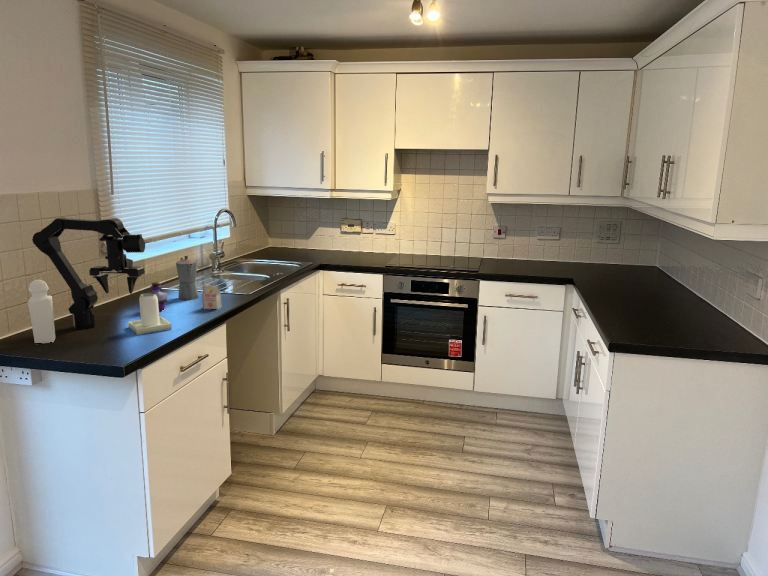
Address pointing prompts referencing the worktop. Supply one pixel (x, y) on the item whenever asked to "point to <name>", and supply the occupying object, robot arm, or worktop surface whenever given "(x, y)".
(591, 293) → the worktop surface
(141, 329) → the tray
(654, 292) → the worktop surface
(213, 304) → the cream paper food packet
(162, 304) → the potion bottle
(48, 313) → the white bottle
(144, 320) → the can
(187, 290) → the moka pot
